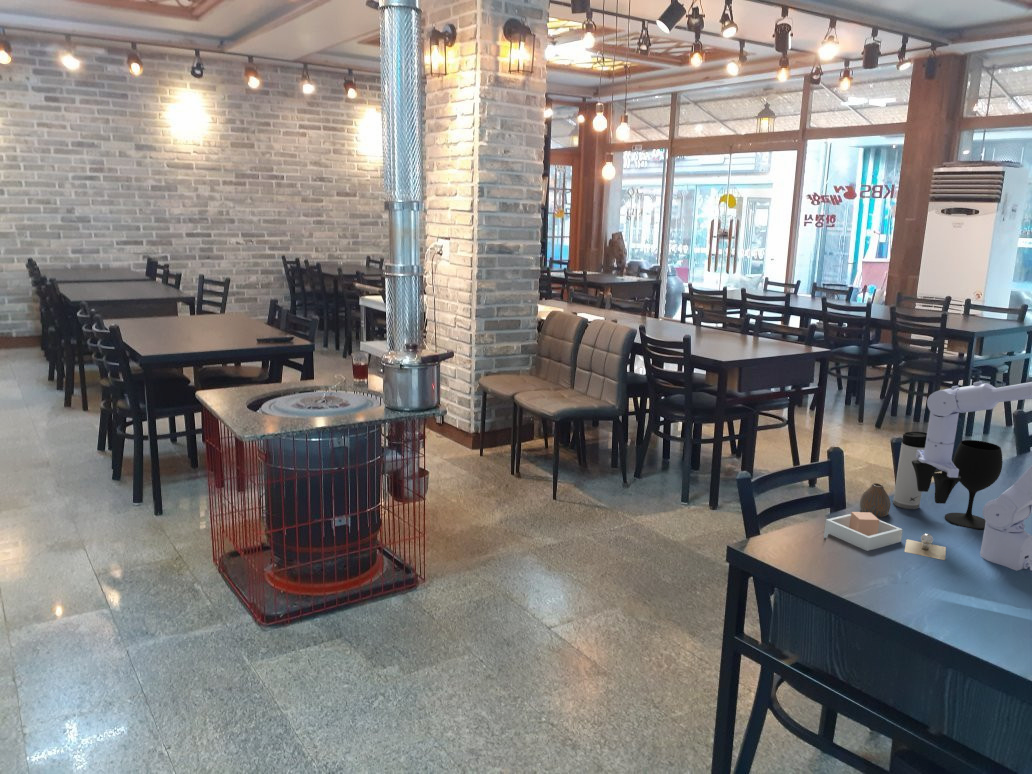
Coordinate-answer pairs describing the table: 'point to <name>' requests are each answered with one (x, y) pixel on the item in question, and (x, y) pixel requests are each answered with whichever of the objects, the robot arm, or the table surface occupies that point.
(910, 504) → the travel mug
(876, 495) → the vase
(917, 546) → the base
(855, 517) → the block
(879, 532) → the bin
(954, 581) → the table surface
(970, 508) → the wine glass
